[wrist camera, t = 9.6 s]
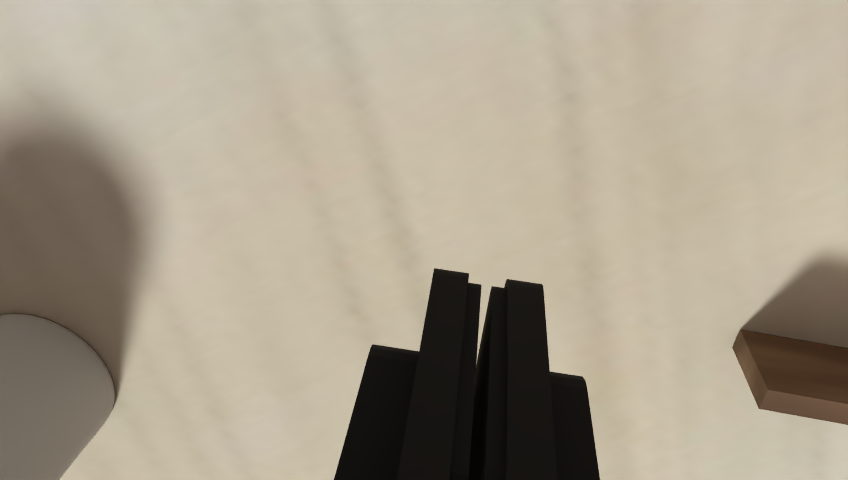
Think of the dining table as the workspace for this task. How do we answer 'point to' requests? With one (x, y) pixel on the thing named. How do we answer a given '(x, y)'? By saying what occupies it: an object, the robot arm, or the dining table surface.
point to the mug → (47, 397)
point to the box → (795, 375)
